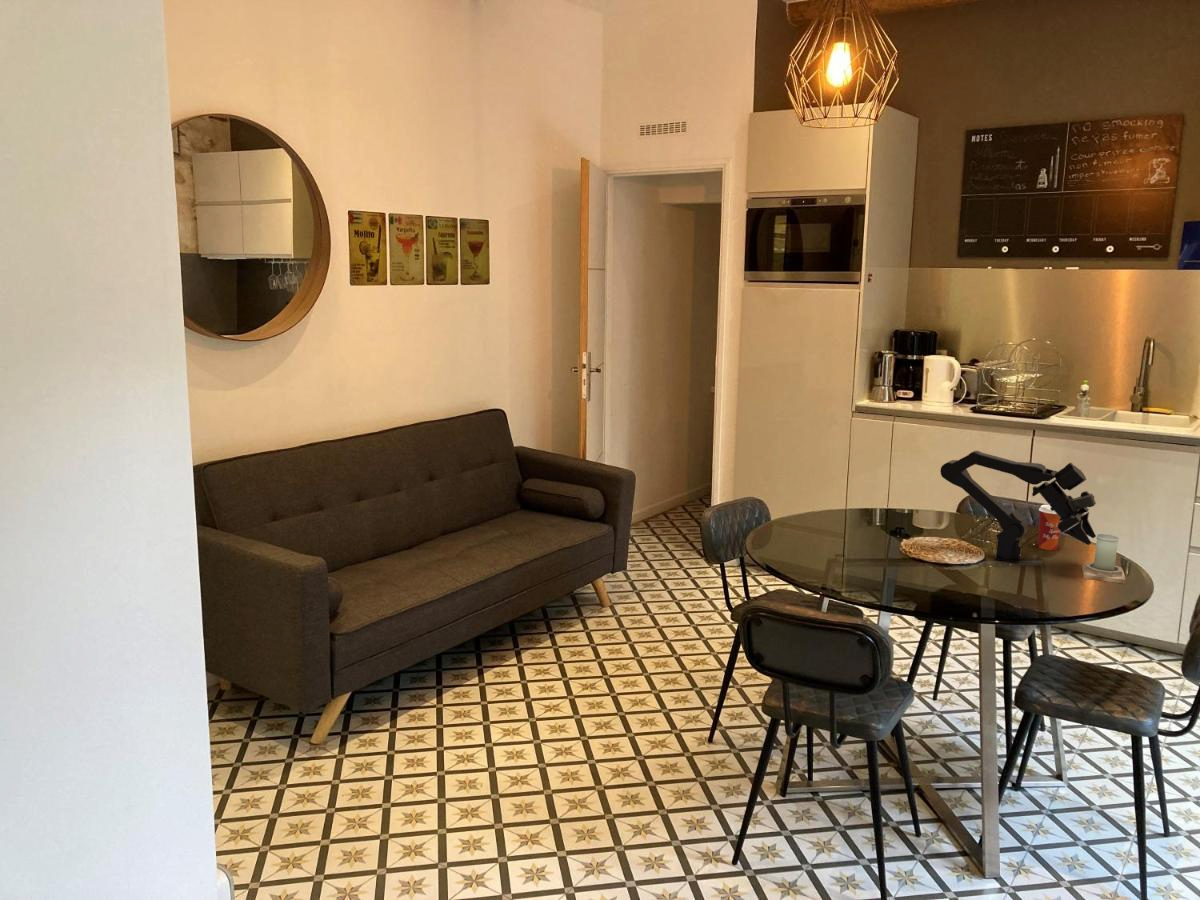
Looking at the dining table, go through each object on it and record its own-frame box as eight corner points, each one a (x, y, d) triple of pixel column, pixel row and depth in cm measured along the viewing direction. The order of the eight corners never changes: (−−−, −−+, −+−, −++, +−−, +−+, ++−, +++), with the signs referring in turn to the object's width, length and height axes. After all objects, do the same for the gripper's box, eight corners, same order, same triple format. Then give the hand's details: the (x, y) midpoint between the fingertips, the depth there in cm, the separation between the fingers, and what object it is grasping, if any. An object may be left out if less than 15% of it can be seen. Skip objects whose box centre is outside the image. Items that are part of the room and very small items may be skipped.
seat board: (1083, 578, 281) (1084, 569, 281) (1081, 568, 291) (1082, 559, 291) (1125, 583, 277) (1126, 574, 276) (1122, 573, 287) (1123, 564, 286)
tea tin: (1099, 575, 281) (1104, 539, 279) (1088, 568, 287) (1092, 534, 285) (1118, 575, 281) (1122, 539, 279) (1106, 568, 287) (1111, 534, 285)
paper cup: (1045, 552, 308) (1050, 510, 305) (1029, 545, 315) (1033, 504, 313) (1065, 550, 310) (1070, 509, 307) (1049, 544, 317) (1053, 503, 315)
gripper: (1075, 489, 277) (1111, 532, 273) (1085, 478, 292) (1120, 519, 288) (1042, 510, 283) (1078, 553, 279) (1054, 499, 298) (1088, 539, 294)
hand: (1092, 540), depth 284 cm, fingers open, 9 cm apart
